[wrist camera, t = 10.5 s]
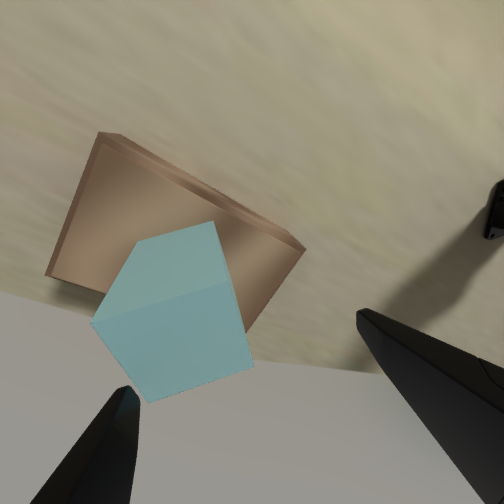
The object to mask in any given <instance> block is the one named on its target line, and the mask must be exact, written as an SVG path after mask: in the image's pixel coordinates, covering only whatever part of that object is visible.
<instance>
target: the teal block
mask: <svg viewBox="0 0 504 504" xmlns="http://www.w3.org/2000/svg"><path fill="white" fill-rule="evenodd" d="M90 324H91V325H92V327H93V328H94V330H95V331H96V332H97V334H98V335H99V337H100V338H101V339H102V341H103V342H104V343H105V345H106V346H107V347H108V349H109V350H110V352H111V353H112V354H113V356H114V357H115V358H116V360H117V361H118V362H119V364H120V365H121V366H122V368H123V369H124V371H125V372H126V373H127V375H128V376H129V378H130V379H131V380H132V382H133V383H134V384H135V386H136V387H137V389H138V390H139V391H140V393H141V394H142V395H143V397H144V398H145V399H146V401H147V402H148V403H151V402H154V401H157V400H160V399H163V398H165V397H168V396H171V395H174V394H177V393H180V392H183V391H186V390H188V389H191V388H194V387H197V386H200V385H203V384H206V383H209V382H212V381H214V380H217V379H220V378H223V377H226V376H229V375H231V374H235V373H237V372H240V371H243V370H246V369H249V368H252V367H254V363H253V360H252V356H251V352H250V348H249V344H248V341H247V337H246V333H245V329H244V325H243V322H242V318H241V314H240V310H239V306H238V303H237V299H236V295H235V291H234V287H233V283H232V280H231V277H230V273H229V270H228V267H227V264H226V260H225V257H224V254H223V250H222V247H221V244H220V241H219V237H218V234H217V231H216V228H215V224H214V221H210V222H206V223H202V224H199V225H195V226H191V227H188V228H184V229H181V230H177V231H173V232H170V233H166V234H163V235H159V236H155V237H152V238H148V239H144V240H141V241H138V242H137V243H136V245H135V247H134V248H133V250H132V252H131V253H130V255H129V257H128V259H127V260H126V262H125V264H124V265H123V267H122V269H121V270H120V272H119V274H118V276H117V277H116V279H115V281H114V282H113V284H112V286H111V288H110V289H109V291H108V293H107V294H106V296H105V298H104V299H103V301H102V303H101V305H100V306H99V308H98V310H97V311H96V313H95V315H94V317H93V318H92V320H91V322H90Z"/></svg>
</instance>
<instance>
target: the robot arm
mask: <svg viewBox="0 0 504 504" xmlns="http://www.w3.org/2000/svg"><path fill="white" fill-rule="evenodd" d="M501 236H504V179H503V180H502V181H501V182H500V183H499V185H498V189H497V192H496V196H495V200H494V203H493V207H492V210H491V214H490V217H489V221H488V225H487V228H486V232H485V235H484V238H485V239H488V240H492V239H495V238H498V237H501ZM356 326H357V329H358V332H359V333H360V335H361V336H362V338H363V340H364V341H365V343H366V345H367V346H368V348H369V349H370V351H371V353H372V354H373V356H374V357H375V359H376V361H377V362H378V364H379V365H380V367H381V368H382V370H383V371H384V372H385V374H386V375H387V376H388V377H389V379H390V380H391V381H392V383H393V384H394V385H395V387H396V388H397V389H398V391H399V392H400V393H401V395H402V396H403V397H404V399H405V400H406V401H407V402H408V404H409V405H410V406H411V408H412V409H413V410H414V412H415V413H416V414H417V416H418V417H419V418H420V419H421V421H422V422H423V423H424V425H425V426H426V427H427V429H428V430H429V431H430V433H431V434H432V435H433V437H434V438H435V439H436V440H437V442H438V443H439V444H440V446H441V447H442V448H443V450H444V451H445V452H446V454H447V455H448V456H449V457H450V459H451V460H452V461H453V463H454V464H455V465H456V467H457V468H458V469H459V471H460V472H461V473H462V474H463V476H464V477H465V478H466V480H467V481H468V482H469V484H470V485H471V486H472V488H473V489H474V490H475V491H476V493H477V494H478V495H479V497H480V498H481V499H482V501H483V502H484V503H485V504H504V368H502V367H499V366H497V365H495V364H492V363H490V362H488V361H486V360H483V359H481V358H477V357H476V356H474V355H472V354H470V353H467V352H465V351H463V350H461V349H458V348H456V347H454V346H452V345H449V344H447V343H445V342H443V341H440V340H438V339H436V338H434V337H431V336H429V335H427V334H425V333H422V332H420V331H418V330H416V329H413V328H411V327H409V326H407V325H404V324H402V323H400V322H398V321H395V320H393V319H391V318H389V317H386V316H384V315H382V314H380V313H377V312H375V311H373V310H371V309H368V308H364V309H361V310H358V311H357V312H356ZM139 418H140V399H139V397H138V395H137V394H136V393H135V391H134V390H133V389H132V387H130V386H129V385H127V386H124V387H121V388H118V389H117V390H116V391H115V392H114V393H113V394H112V396H111V397H110V398H109V400H108V401H107V403H106V404H105V405H104V406H103V408H102V409H101V410H100V412H99V413H98V414H97V416H96V417H95V418H94V419H93V421H92V422H91V424H90V425H89V426H88V427H87V429H86V430H85V431H84V433H83V434H82V435H81V437H80V438H79V439H78V441H77V442H76V443H75V445H74V446H73V447H72V449H71V450H70V451H69V452H68V454H67V455H66V456H65V458H64V459H63V460H62V462H61V463H60V464H59V466H58V467H57V468H56V470H55V471H54V472H53V474H52V475H51V476H50V477H49V479H48V480H47V482H46V483H45V484H44V485H43V487H42V488H41V489H40V491H39V492H38V493H37V495H36V496H35V497H34V499H33V500H32V501H31V503H30V504H129V503H130V496H131V490H132V484H133V477H134V471H135V465H136V458H137V450H138V435H139Z"/></svg>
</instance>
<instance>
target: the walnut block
mask: <svg viewBox="0 0 504 504" xmlns="http://www.w3.org/2000/svg"><path fill="white" fill-rule="evenodd" d="M210 221H214V224H215V228H216V231H217V234H218V237H219V241H220V244H221V247H222V250H223V254H224V257H225V260H226V264H227V267H228V270H229V273H230V277H231V280H232V283H233V287H234V291H235V295H236V299H237V303H238V306H239V310H240V314H241V318H242V322H243V325H244V329H245V333H247V331H248V330H249V328H250V327H251V326H252V324H253V323H254V321H255V320H256V319H257V317H258V316H259V314H260V313H261V312H262V310H263V309H264V308H265V306H266V305H267V303H268V302H269V301H270V299H271V298H272V296H273V295H274V294H275V292H276V291H277V289H278V288H279V287H280V285H281V284H282V282H283V281H284V280H285V278H286V277H287V275H288V274H289V273H290V271H291V270H292V268H293V267H294V266H295V264H296V263H297V262H298V260H299V259H300V257H301V256H302V255H303V253H304V252H305V250H306V248H305V247H304V246H303V245H302V244H301V243H300V242H298V241H297V240H296V239H295V238H294V237H293V236H292V235H291V234H290V233H289V232H288V231H286V230H284V229H282V228H281V227H279V226H277V225H276V224H274V223H272V222H270V221H269V220H267V219H265V218H263V217H262V216H260V215H258V214H257V213H255V212H253V211H251V210H250V209H248V208H246V207H245V206H243V205H241V204H239V203H238V202H236V201H234V200H232V199H231V198H229V197H227V196H226V195H224V194H222V193H220V192H219V191H217V190H215V189H214V188H212V187H210V186H208V185H207V184H205V183H203V182H201V181H200V180H198V179H196V178H195V177H193V176H191V175H189V174H188V173H186V172H184V171H183V170H181V169H179V168H177V167H176V166H174V165H172V164H170V163H169V162H167V161H165V160H164V159H162V158H160V157H158V156H157V155H155V154H153V153H152V152H150V151H148V150H146V149H145V148H143V147H141V146H139V145H138V144H136V143H134V142H133V141H131V140H129V139H127V138H126V137H124V136H122V135H121V134H115V133H106V132H98V135H97V137H96V140H95V143H94V145H93V148H92V151H91V153H90V156H89V159H88V161H87V164H86V167H85V169H84V172H83V175H82V177H81V180H80V183H79V185H78V188H77V191H76V193H75V196H74V199H73V201H72V204H71V206H70V209H69V212H68V214H67V217H66V220H65V222H64V225H63V228H62V230H61V233H60V236H59V238H58V241H57V244H56V246H55V249H54V252H53V254H52V257H51V260H50V262H49V265H48V268H47V270H46V273H45V276H48V277H52V278H55V279H58V280H61V281H64V282H68V283H71V284H74V285H77V286H80V287H84V288H87V289H90V290H93V291H96V292H99V293H103V294H107V293H108V291H109V289H110V288H111V286H112V284H113V282H114V281H115V279H116V277H117V276H118V274H119V272H120V270H121V269H122V267H123V265H124V264H125V262H126V260H127V259H128V257H129V255H130V253H131V252H132V250H133V248H134V247H135V245H136V243H137V242H138V241H141V240H144V239H148V238H152V237H155V236H159V235H163V234H166V233H170V232H173V231H177V230H181V229H184V228H188V227H191V226H195V225H199V224H202V223H206V222H210Z"/></svg>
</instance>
